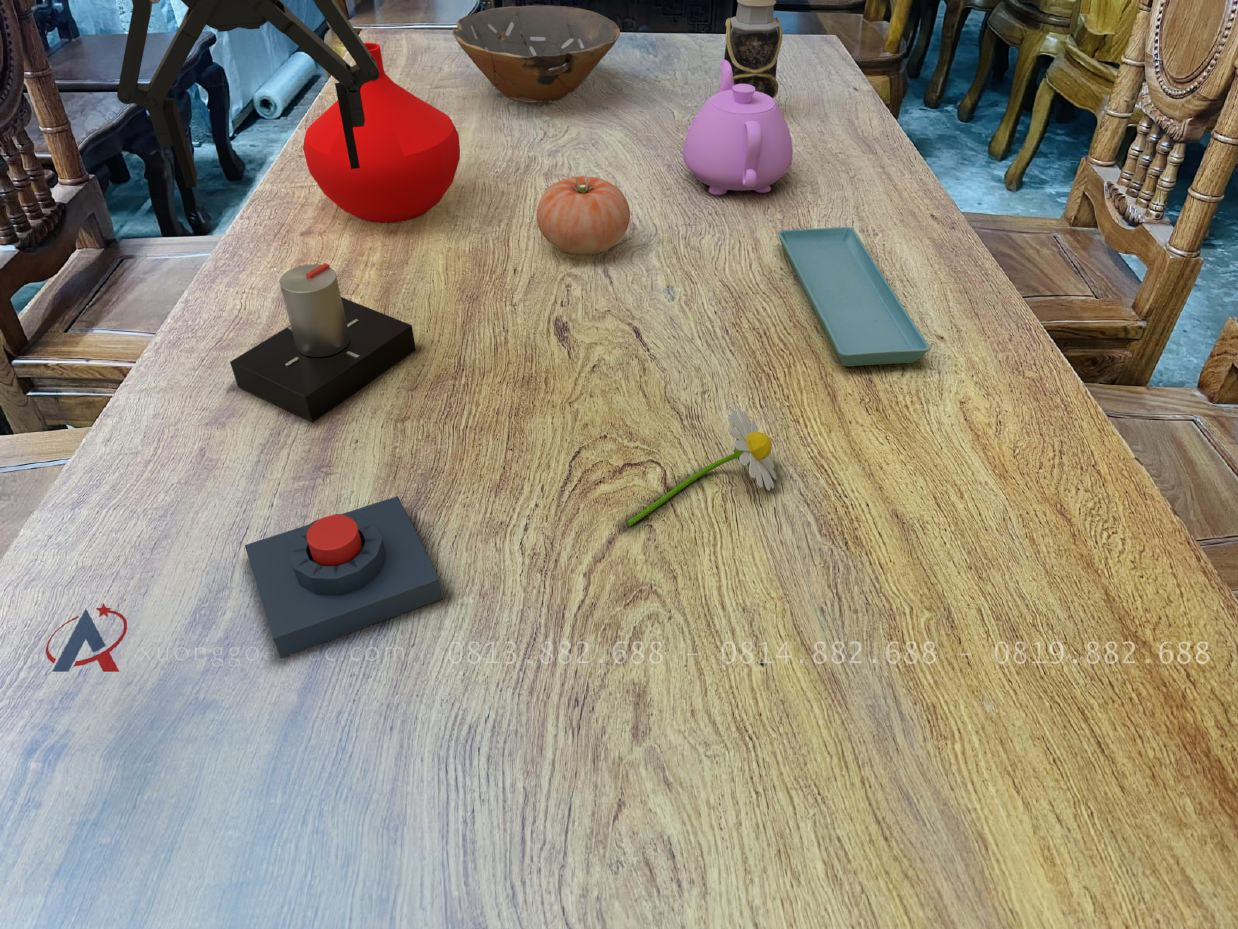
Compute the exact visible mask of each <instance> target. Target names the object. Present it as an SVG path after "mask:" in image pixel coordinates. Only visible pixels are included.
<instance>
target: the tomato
mask: <svg viewBox="0 0 1238 929" xmlns="http://www.w3.org/2000/svg"><path fill="white" fill-rule="evenodd" d="M630 220H631V210H630V206H629V203H628V200H627V199H626V196H625V194H624V193H623V191H622V190H621V189H620V188H618V186H616V185H614V184H613V183H611V182H610V181H608V180H605V179H603V178H600V177H596V176H585V175H579V176H570V177H568V178H564V179H561V180H558V181H556V182H555V183H552V184H551V185H550V186H549V187H548V188H546V190H544V192H543V193H542V195H541V197H540V199H539V200H538V204H537V206H536V223H537V226H538V229H539V232H540V233H541V235H542V236H543V238H544V239H545V240H546V241H547V242H548V243H549V244H550V245H551V246H553V247H555V248H556V249H558V250H559V251H562V252H565V253H568V254H572V255H580V256H587V255H588V256H589V255H596V254H599V253H602V252H605V251H607V250H609V249H611V248H613V247H614V246H615V245H617V244H618V243H619V242H620V241H621V240H622V238H623V237H624V235H625V234H626V232H627V231H628V227H629V225H630Z"/></svg>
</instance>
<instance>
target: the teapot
mask: <svg viewBox="0 0 1238 929" xmlns="http://www.w3.org/2000/svg"><path fill="white" fill-rule="evenodd" d="M719 68H720V82H719V87H718V91H717V92H716V93H714V94H713V95H711V96H710V97H709V98H708V99H707V101H705V103H704V104H703V105H702V107H700V110H699V111H698V112H697V114H696V116H695V117H694V119H693V120H692V122H691V123H690V126H689V128H688V130H687V132H686V136H685V139H684V143H683V147H682V158H683V162H684V164H685V166H686V167H687V169H688V170H689V172H690V173H691V174H692V175H693V176H694V177H695V179H697V180H698V181H700V182H701V183H703V184H705V185H707V186H709V188H708V192H709V193H710V194H712V195H717V196H720V195H721V196H722V195H724V194H726V193H727V192H728V191H754V192H756V193H764V194H765V193H768V192H770V191H771V189H772V188H771V187H770V186H771V185H773V184H775V183H776V182H777V181H778V180H780V179H781V178H782V177H783V176H784V175H785V174H786V173H787V172H788V171H789V169H790V168H791V166H792V163H793V156H794V152H793V151H794V150H793V149H794V148H793V142H792V136H791V132H790V128H789V126H788V123H787V121H786V119H785V117H784V115H783V113H782V110H781V108H780V107H779V105H778V103H777V102H776V100H775V99H774V98H772V97H770V96H768V95H766V94H764V93H761V92H757V91H755V87H754V86H752V85H749V84H737V85H734V80H733V73H732V68H731V65H730V63H729V62H728V61H727V60H724V59H721V60H720V67H719Z"/></svg>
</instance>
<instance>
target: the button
mask: <svg viewBox="0 0 1238 929" xmlns="http://www.w3.org/2000/svg"><path fill="white" fill-rule="evenodd" d="M317 520H318V521H316V520H315V521H316V522H315V523H314V524H312V526H311V527H310V528H309V530H308V532H307V541H308V545H309V548H310V551H311V554H312V557H313V559H314V560H315V561H316V562H317V563H319V564H321V565H324V566H339V565H342V564H345V563H348V562H350V561H351V560H353V559H354V558H355V557H356V556H357V555H358V554H359V552H360V550H361V546H362V543H361V539H360V535H359V531H358V527H357V524H356V522H355V521H354V520H353V519H351V518H350V517H347V516H344V515H334V514H331V515H326V516H324V517H322V518H319V519H317Z"/></svg>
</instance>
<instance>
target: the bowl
mask: <svg viewBox="0 0 1238 929" xmlns="http://www.w3.org/2000/svg"><path fill="white" fill-rule="evenodd" d="M456 27H457V29H455V28H452V35H453V37H454V39H455V40H456V42H457V44H458V46H459V47H460V48H461V49H462V50H463V51H464V53H465V54H466V55H467V56H468V57H469V58H470V59H471V61H472V62H473V63H474V65H475V66H476V67H477V69H479V71H480V72H481V73H482V74H483V75H484V76H485V78H486V79H487V80H488V81H489V82H490V84H491V85H492V86H493V87H495V89H496V90H497V91H498V92H499V93H500V94H502V95H503V96H504V97H506V98H507V99H510V100H511V101H514V102H518V103H523V104H531V105H532V104H535V105H537V104H539V105H540V104H544V103H545V104H547V103H550V102H556V101H559V100H562V99H563V98H565V97H566V96H568V95H569V94H570V93H573V92H574V91H575V90H577V88H578V87H580V85H581V84H582V83H583V82H584V81H585V80H586V79H587V78H588V77H589V75H591V73H592V72H593V71H594V70H595V68H596V67H597V66H598V64H599V63H600V62H601V61H602V59H603V58H604V57H605V56H606V55H607V54H608V53H609V51H611V49H612V48H613V46H615V44H616V42H617V41H618V39H619V38H620V35H621V30H620V28H619V26H618V25H617V23H616V22H615V21H614V20H611V19H610V18H608V17H607V16H605V15H602V14H600V13H598V12H595V11H592V10H589V9H584V8H579V7H574V6H573V7H572V6H567V5H566V6H565V5H548V4H547V5H545V4H543V5H542V4H541V5H539V4H538V5H537V4H535V5H520V6H519V5H518V6H514V5H513V6H502V7H501V6H500V7H495V8H488V9H485V10H482V11H478V12H475V13H472V14H468V15H466V16H463V17H462V18H460V19H458V20H457V21H456Z"/></svg>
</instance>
